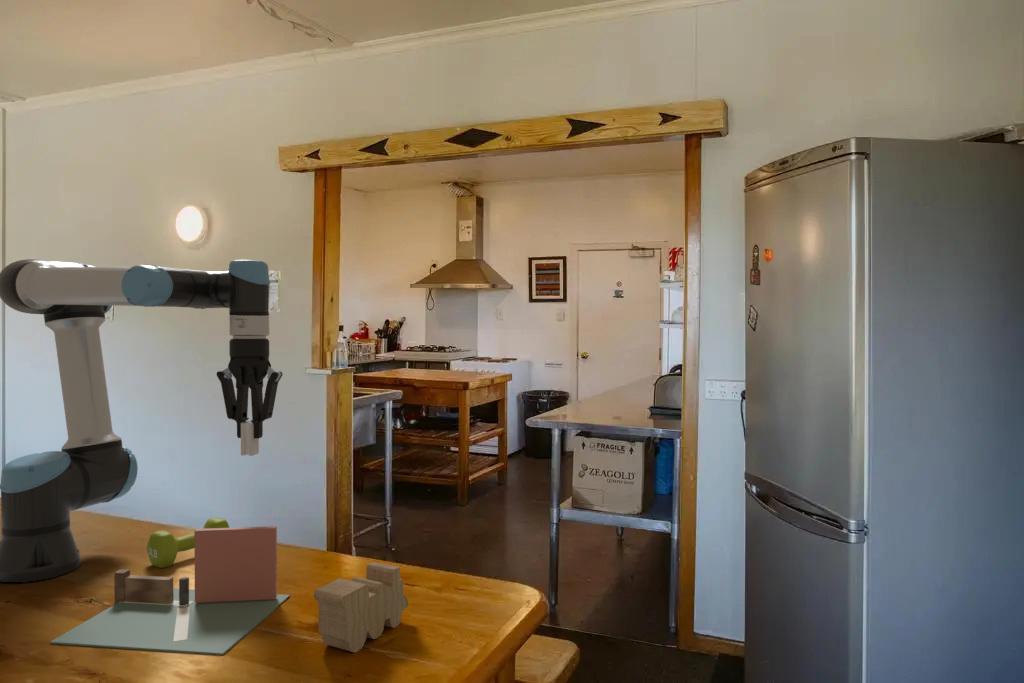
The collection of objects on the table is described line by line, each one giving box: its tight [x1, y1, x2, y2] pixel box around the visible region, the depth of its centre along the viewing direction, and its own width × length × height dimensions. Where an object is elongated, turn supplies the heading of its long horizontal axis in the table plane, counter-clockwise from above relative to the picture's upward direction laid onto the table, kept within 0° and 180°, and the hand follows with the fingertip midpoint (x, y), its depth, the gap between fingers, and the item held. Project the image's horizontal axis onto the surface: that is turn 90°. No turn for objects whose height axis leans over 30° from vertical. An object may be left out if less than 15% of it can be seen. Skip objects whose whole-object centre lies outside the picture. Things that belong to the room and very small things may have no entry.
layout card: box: [49, 587, 291, 656], centre depth 121 cm, size 29×24×1 cm
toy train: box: [313, 561, 409, 653], centre depth 114 cm, size 6×17×10 cm, turn 152°
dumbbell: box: [146, 516, 230, 569], centre depth 152 cm, size 16×8×7 cm, turn 144°
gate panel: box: [193, 525, 278, 603], centre depth 128 cm, size 14×1×13 cm, turn 98°
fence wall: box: [113, 569, 190, 605], centre depth 127 cm, size 14×2×6 cm, turn 83°
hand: (249, 454), depth 142 cm, fingers closed
